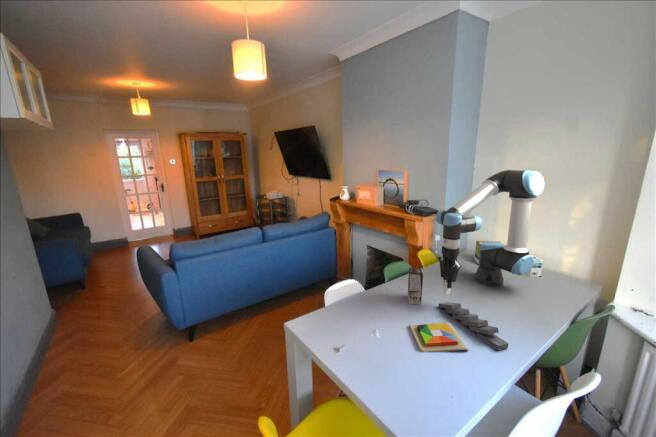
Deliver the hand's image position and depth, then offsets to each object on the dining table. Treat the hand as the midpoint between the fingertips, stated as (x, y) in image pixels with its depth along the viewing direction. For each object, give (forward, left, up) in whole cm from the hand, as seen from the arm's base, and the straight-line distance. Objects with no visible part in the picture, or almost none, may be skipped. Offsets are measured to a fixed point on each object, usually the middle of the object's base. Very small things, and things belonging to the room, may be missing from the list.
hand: (446, 293), depth 138 cm
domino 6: (0, +22, -7) cm, 23 cm away
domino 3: (0, +8, -7) cm, 11 cm away
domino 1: (0, -2, -7) cm, 7 cm away
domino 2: (0, +3, -7) cm, 8 cm away
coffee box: (+10, -12, -8) cm, 17 cm away
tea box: (-66, -40, -8) cm, 77 cm away
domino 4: (0, +13, -7) cm, 15 cm away
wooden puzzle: (+19, +18, -9) cm, 28 cm away
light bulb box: (-76, -18, -8) cm, 78 cm away
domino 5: (0, +18, -7) cm, 19 cm away
